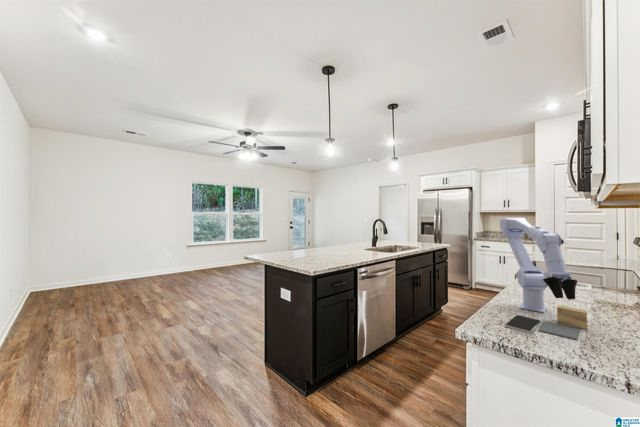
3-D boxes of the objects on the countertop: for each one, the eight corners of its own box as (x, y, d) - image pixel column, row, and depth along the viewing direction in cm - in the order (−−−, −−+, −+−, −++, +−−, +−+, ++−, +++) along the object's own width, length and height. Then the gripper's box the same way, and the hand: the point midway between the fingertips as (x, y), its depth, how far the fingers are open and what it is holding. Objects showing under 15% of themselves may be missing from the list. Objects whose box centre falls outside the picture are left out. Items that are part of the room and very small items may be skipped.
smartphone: (541, 320, 104) (531, 331, 94) (541, 323, 104) (531, 334, 94) (516, 314, 110) (504, 324, 100) (516, 317, 110) (504, 327, 100)
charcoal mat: (543, 321, 104) (543, 320, 104) (578, 328, 97) (578, 327, 97) (538, 331, 96) (538, 329, 96) (577, 340, 88) (577, 338, 88)
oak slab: (558, 320, 105) (558, 305, 105) (587, 325, 99) (586, 309, 100) (557, 323, 102) (557, 307, 103) (586, 329, 97) (586, 312, 97)
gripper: (555, 258, 99) (566, 296, 93) (577, 263, 104) (589, 299, 98) (534, 262, 105) (544, 297, 100) (556, 266, 110) (567, 300, 105)
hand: (565, 298), depth 99 cm, fingers open, 7 cm apart
